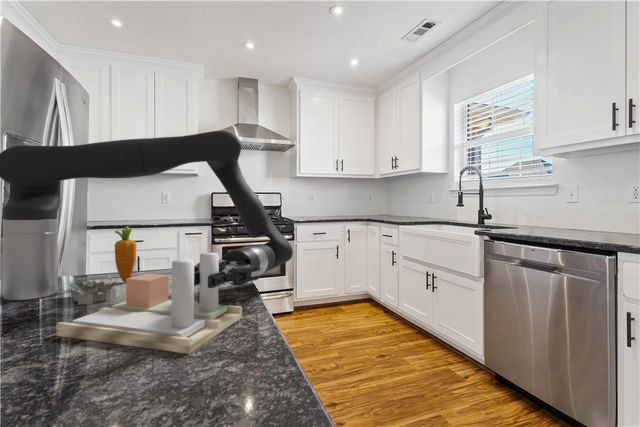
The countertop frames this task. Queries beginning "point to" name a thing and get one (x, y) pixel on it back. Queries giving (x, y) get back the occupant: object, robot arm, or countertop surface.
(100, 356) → the countertop surface
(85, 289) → the egg carton
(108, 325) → the strip
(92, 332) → the board
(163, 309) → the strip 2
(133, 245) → the carrot
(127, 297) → the cube
